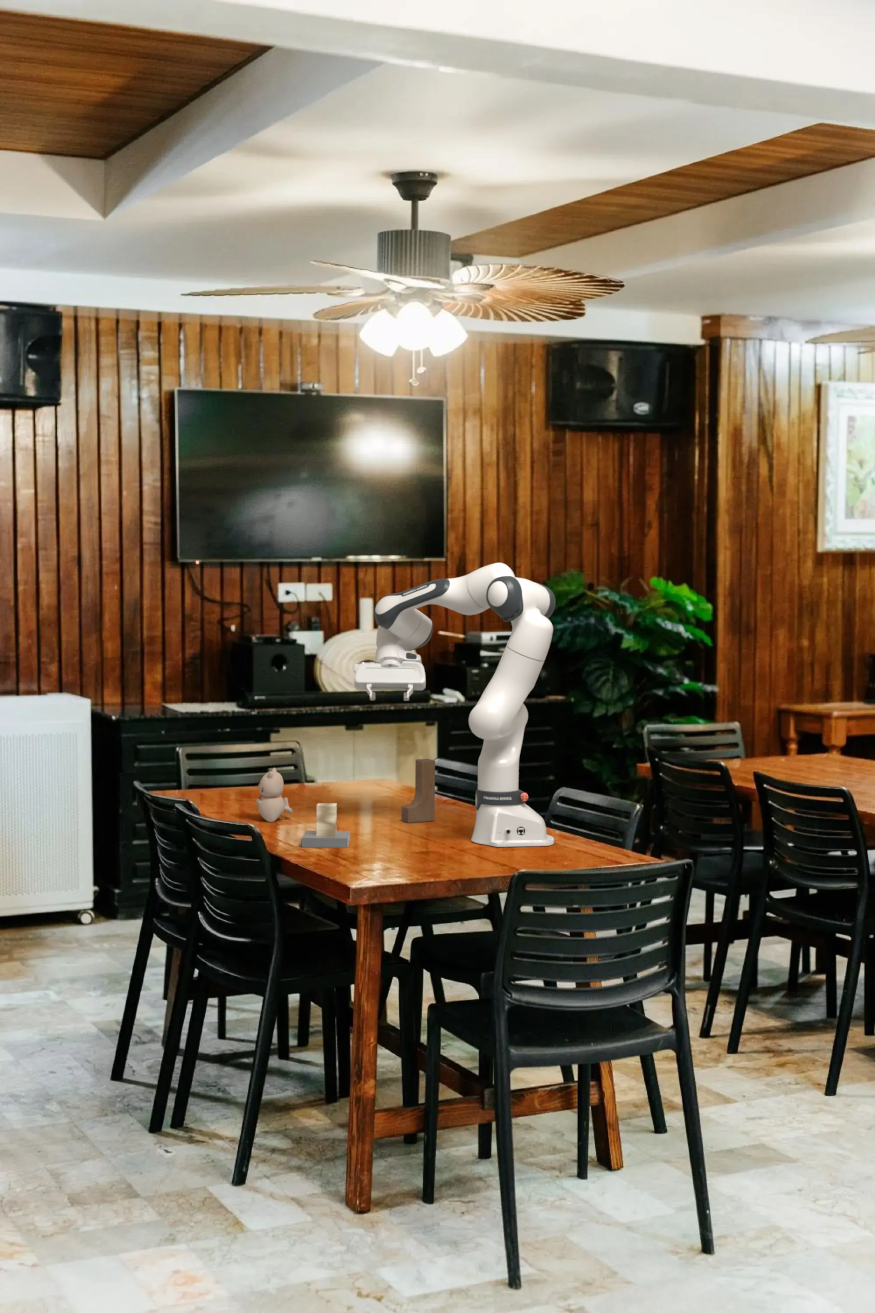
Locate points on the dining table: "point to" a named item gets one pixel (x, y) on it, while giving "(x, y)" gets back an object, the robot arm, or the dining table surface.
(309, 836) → the base slab
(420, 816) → the wooden block
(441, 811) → the dining table surface
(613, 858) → the dining table surface
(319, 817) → the maple post
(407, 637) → the robot arm
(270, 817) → the toy
